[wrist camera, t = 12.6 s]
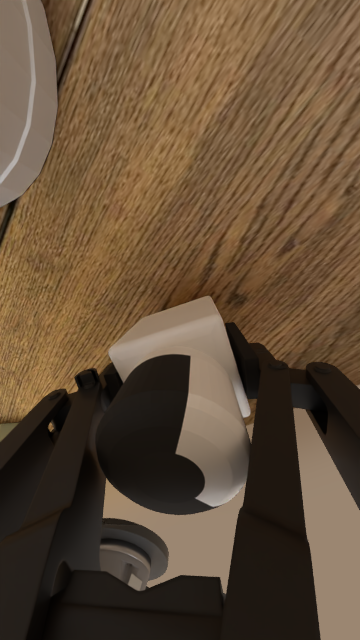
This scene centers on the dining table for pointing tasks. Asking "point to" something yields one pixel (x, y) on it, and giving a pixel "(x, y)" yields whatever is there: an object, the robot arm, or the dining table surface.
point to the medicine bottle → (176, 413)
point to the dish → (25, 95)
